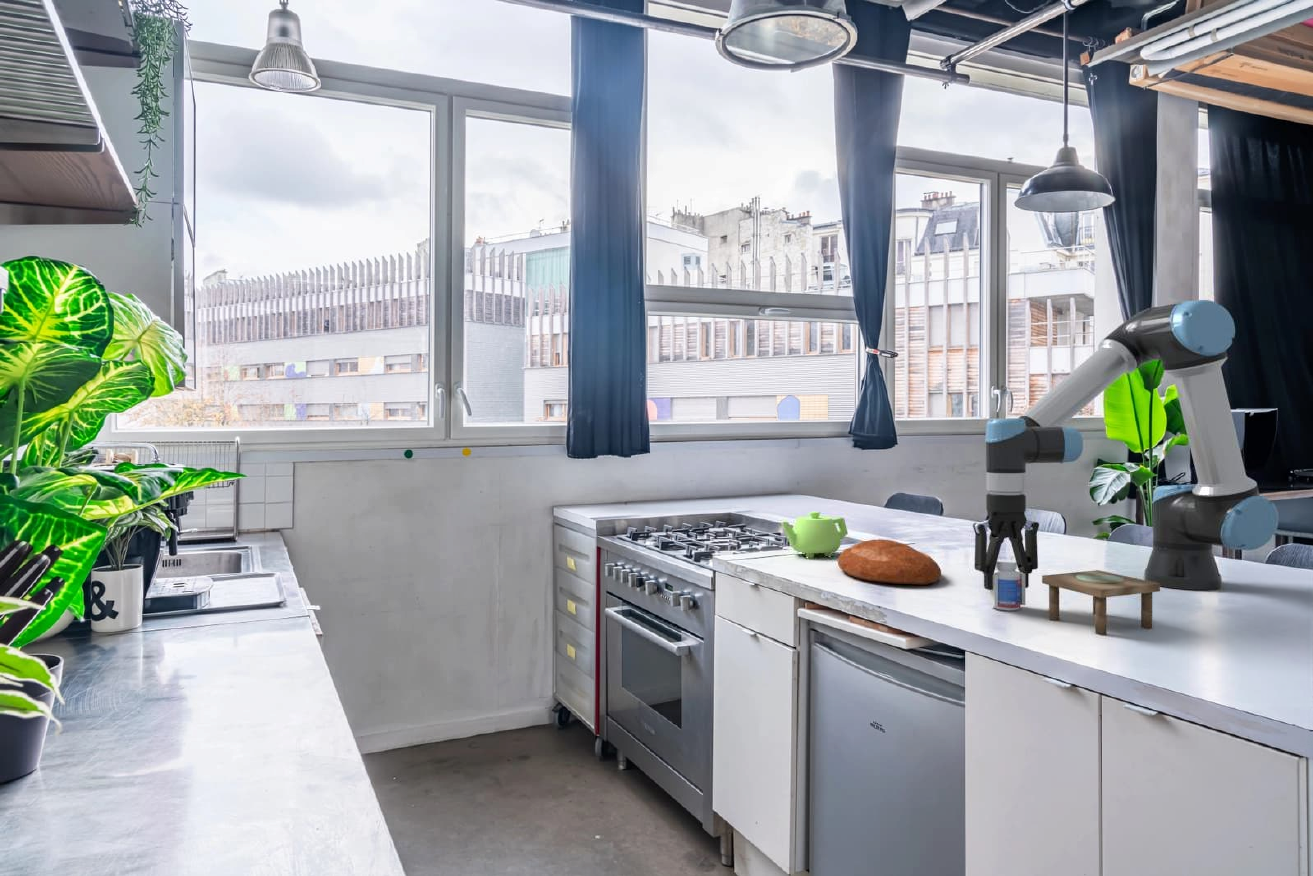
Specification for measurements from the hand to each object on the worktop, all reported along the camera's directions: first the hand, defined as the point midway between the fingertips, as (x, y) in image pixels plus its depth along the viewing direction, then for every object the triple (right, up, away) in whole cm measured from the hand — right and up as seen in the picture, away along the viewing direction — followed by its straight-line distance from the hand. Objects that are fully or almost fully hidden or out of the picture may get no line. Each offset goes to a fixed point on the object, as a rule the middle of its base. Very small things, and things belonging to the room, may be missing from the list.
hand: (1006, 604), depth 170 cm
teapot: (-27, 0, +67) cm, 72 cm away
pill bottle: (0, -1, 0) cm, 1 cm away
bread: (-14, -1, +36) cm, 39 cm away
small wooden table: (+12, -1, -13) cm, 18 cm away
